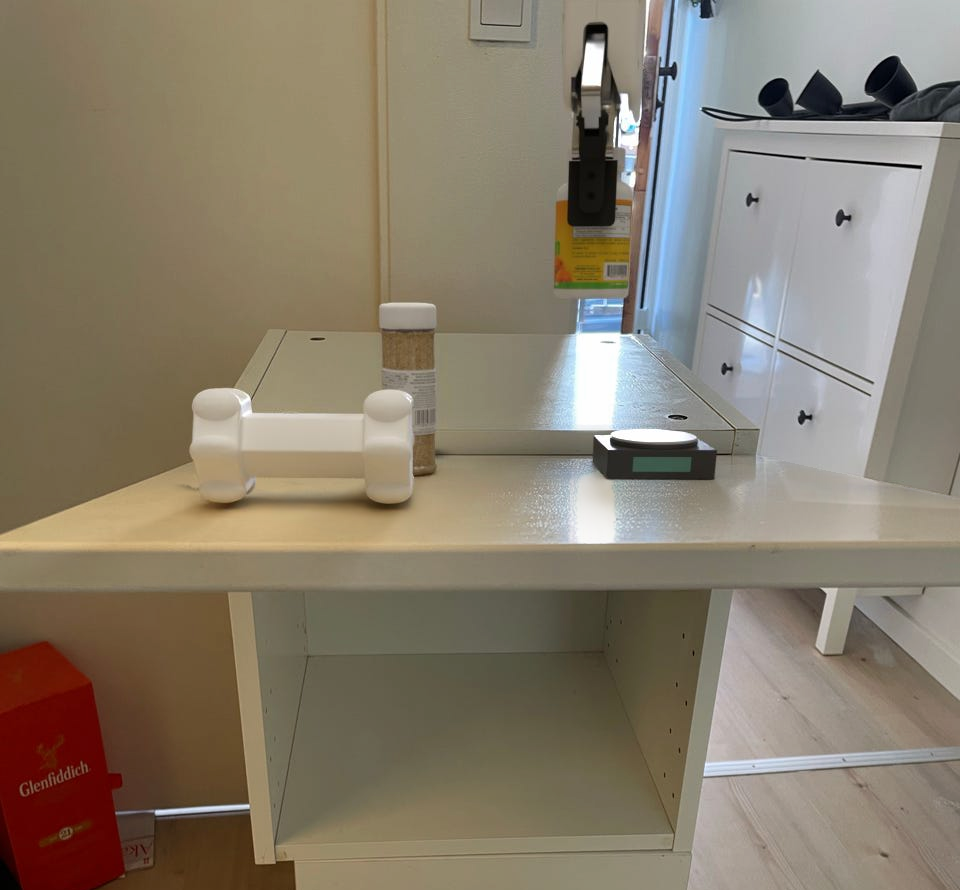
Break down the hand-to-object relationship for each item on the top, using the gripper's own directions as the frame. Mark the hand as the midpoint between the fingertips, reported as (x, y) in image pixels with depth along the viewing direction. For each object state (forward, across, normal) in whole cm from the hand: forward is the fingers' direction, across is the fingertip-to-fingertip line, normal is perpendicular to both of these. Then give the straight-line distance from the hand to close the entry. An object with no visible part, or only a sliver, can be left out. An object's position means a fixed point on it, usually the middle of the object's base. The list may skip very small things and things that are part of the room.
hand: (594, 225), depth 69 cm
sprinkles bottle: (+19, +5, +15) cm, 25 cm away
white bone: (+19, -8, +19) cm, 28 cm away
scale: (+19, +10, -5) cm, 22 cm away
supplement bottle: (+5, 0, 0) cm, 5 cm away
